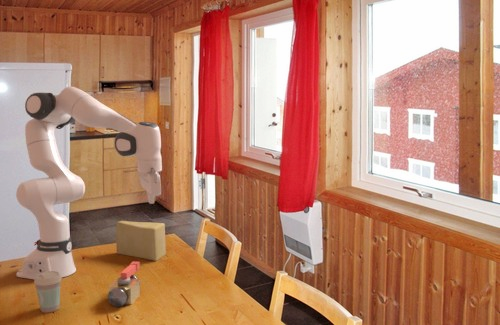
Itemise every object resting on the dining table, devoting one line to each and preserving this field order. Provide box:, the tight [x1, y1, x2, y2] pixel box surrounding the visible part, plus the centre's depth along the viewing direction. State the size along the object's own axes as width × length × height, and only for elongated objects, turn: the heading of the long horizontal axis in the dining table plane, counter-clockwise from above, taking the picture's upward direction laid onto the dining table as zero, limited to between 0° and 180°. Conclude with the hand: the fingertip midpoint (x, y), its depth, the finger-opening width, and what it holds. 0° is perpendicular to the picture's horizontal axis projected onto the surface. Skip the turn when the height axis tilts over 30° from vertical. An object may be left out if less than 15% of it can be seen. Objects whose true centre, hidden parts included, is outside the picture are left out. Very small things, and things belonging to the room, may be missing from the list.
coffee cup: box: [33, 271, 63, 314], centre depth 168 cm, size 8×8×12 cm
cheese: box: [115, 220, 167, 262], centre depth 220 cm, size 22×10×15 cm, turn 72°
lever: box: [116, 261, 141, 285], centre depth 179 cm, size 13×4×4 cm, turn 169°
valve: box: [107, 274, 141, 308], centre depth 175 cm, size 8×13×6 cm, turn 171°
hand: (151, 202), depth 186 cm, fingers closed
